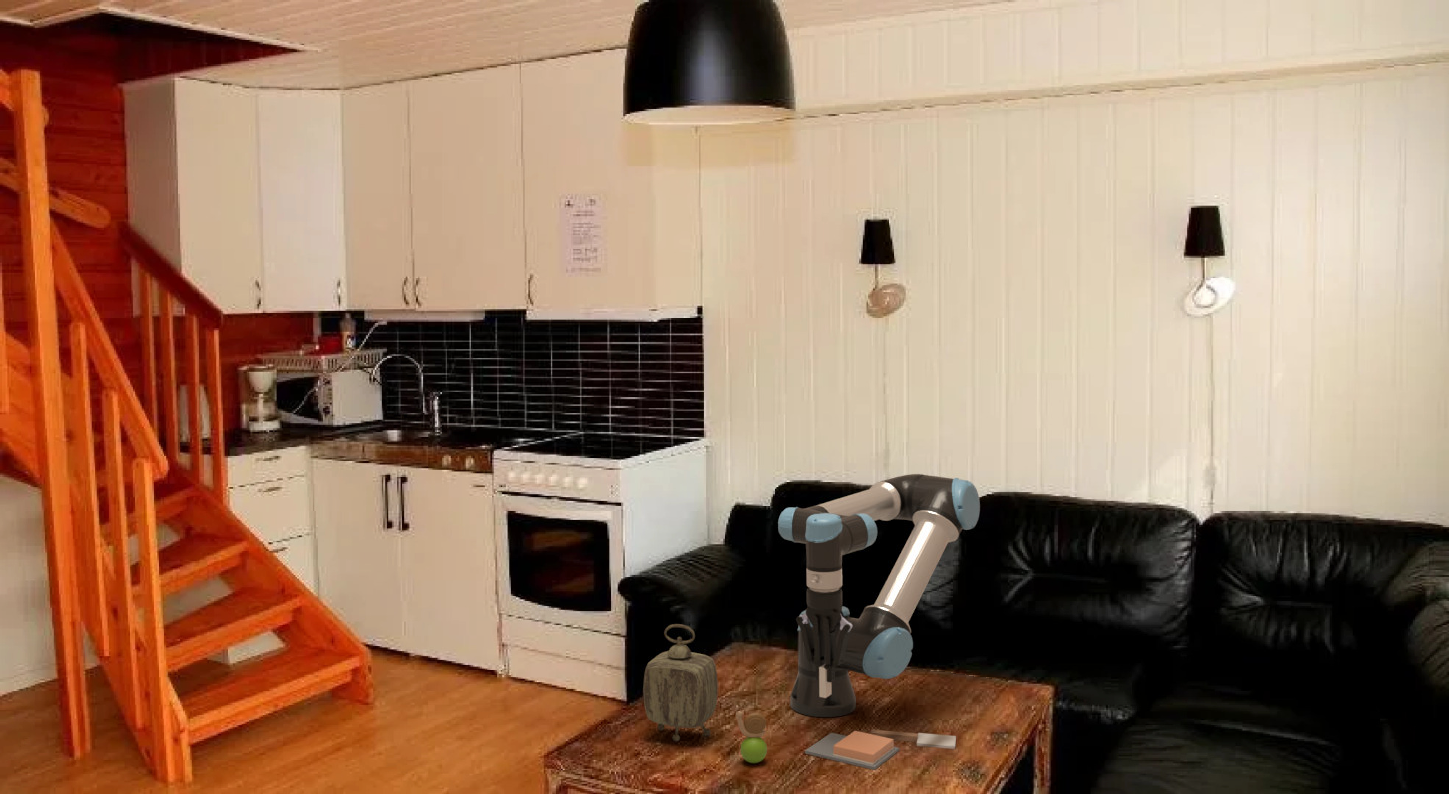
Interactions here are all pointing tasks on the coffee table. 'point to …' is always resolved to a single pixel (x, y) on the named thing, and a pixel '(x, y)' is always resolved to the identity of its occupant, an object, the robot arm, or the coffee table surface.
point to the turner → (919, 738)
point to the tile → (863, 747)
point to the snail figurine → (752, 736)
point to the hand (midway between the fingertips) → (825, 695)
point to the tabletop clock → (680, 687)
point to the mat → (826, 751)
